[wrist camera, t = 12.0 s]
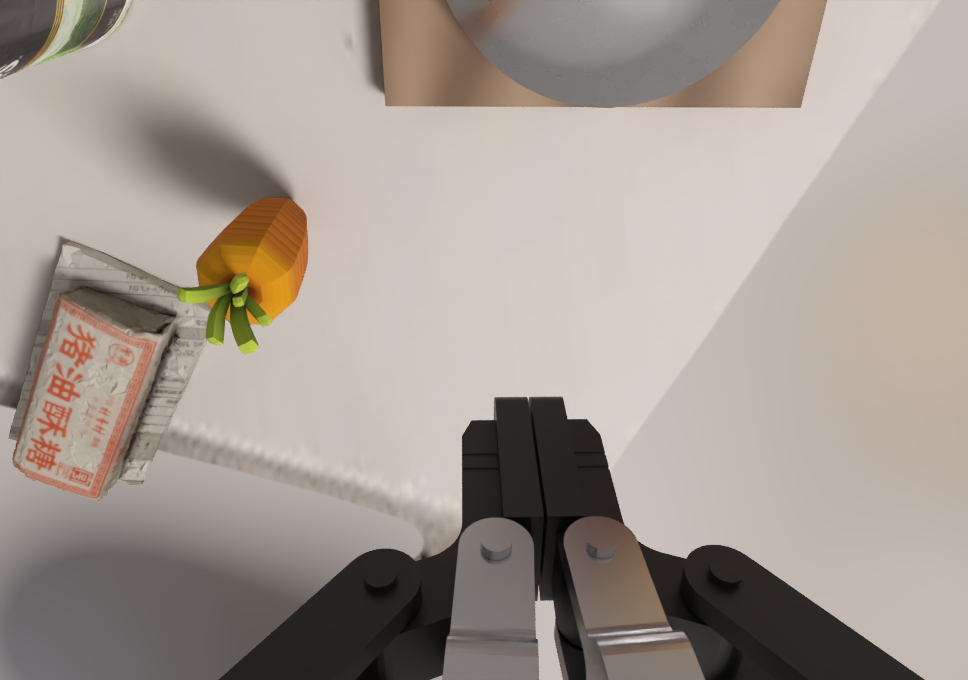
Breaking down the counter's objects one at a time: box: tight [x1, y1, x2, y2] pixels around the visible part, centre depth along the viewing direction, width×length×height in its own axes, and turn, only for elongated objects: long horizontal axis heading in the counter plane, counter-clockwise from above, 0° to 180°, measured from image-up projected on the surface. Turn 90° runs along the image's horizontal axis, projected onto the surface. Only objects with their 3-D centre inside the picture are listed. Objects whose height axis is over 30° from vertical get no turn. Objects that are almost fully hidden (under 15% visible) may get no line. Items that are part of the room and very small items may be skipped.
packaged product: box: [9, 241, 212, 501], centre depth 47 cm, size 18×5×10 cm
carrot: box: [177, 197, 308, 354], centre depth 36 cm, size 5×5×15 cm
